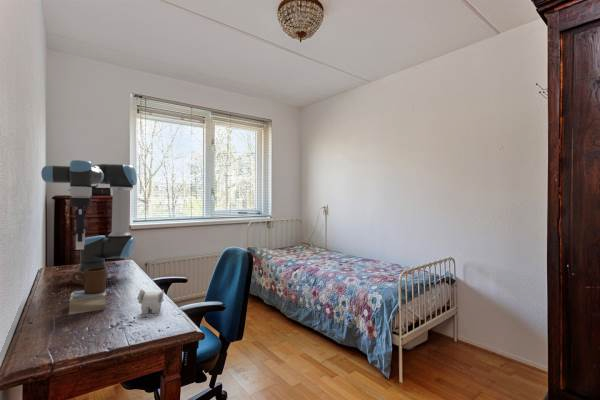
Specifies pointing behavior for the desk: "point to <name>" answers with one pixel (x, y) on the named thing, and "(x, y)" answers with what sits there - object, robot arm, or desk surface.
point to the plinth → (86, 302)
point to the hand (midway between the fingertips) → (80, 246)
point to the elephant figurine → (150, 301)
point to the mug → (92, 280)
